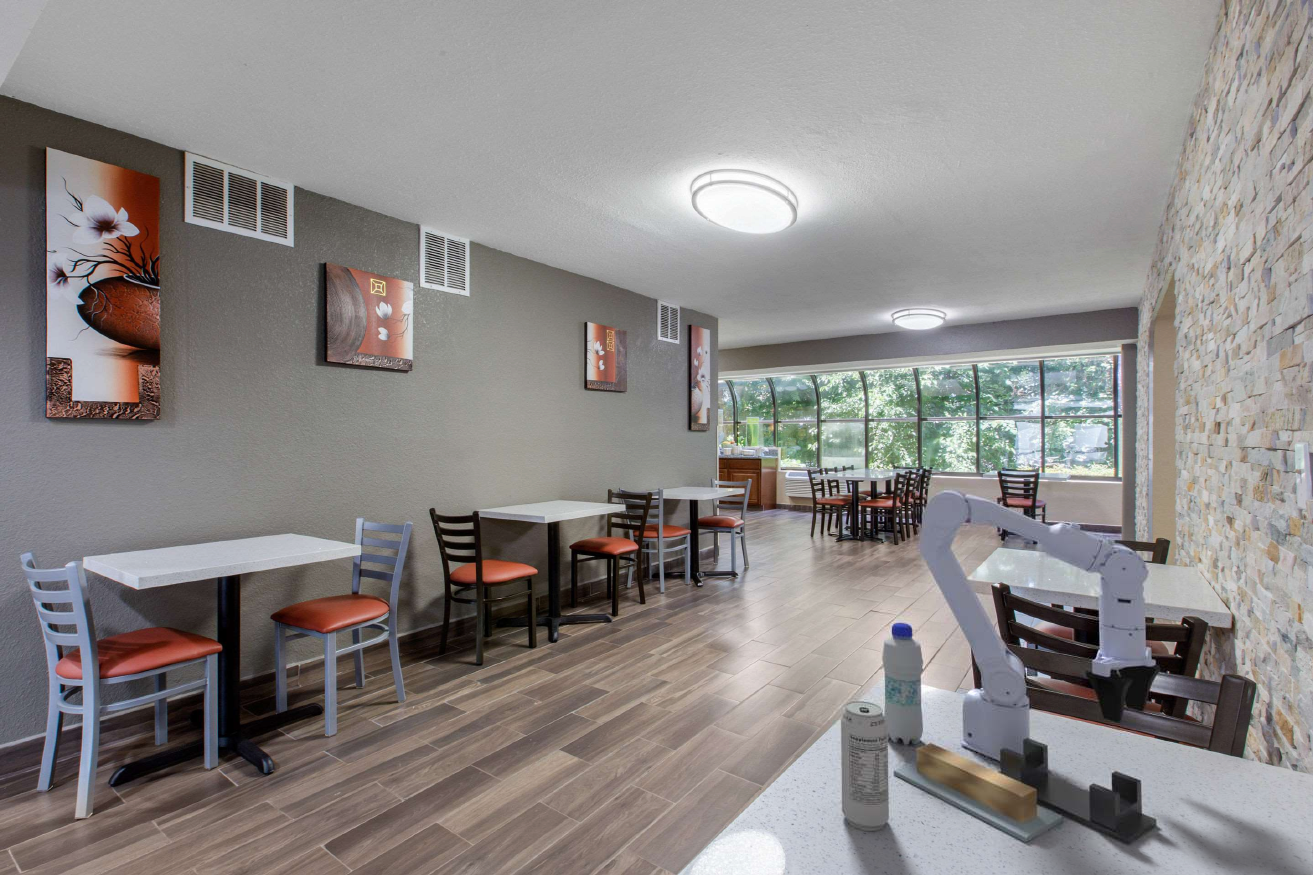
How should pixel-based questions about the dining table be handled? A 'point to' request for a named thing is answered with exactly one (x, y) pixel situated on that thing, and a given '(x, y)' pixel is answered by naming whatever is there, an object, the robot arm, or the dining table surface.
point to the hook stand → (1081, 794)
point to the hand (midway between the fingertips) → (1124, 714)
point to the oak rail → (978, 782)
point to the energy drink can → (864, 766)
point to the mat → (982, 806)
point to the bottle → (903, 685)
